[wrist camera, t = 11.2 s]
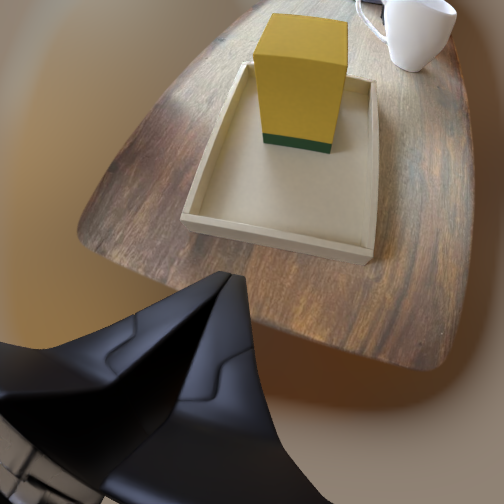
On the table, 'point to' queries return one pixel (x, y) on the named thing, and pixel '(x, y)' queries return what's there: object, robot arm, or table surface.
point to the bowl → (373, 1)
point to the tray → (290, 179)
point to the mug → (414, 30)
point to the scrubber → (301, 80)
